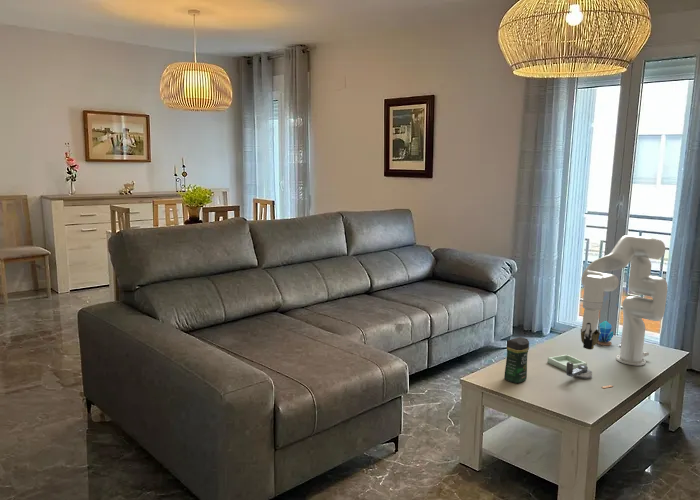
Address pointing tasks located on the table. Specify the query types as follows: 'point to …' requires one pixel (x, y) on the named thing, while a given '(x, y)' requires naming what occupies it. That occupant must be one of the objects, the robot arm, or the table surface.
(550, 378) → the table surface
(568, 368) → the crank
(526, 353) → the coffee jar
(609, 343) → the gemstone
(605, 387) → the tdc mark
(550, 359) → the tray
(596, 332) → the ornate brass lampshade
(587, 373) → the crank base
